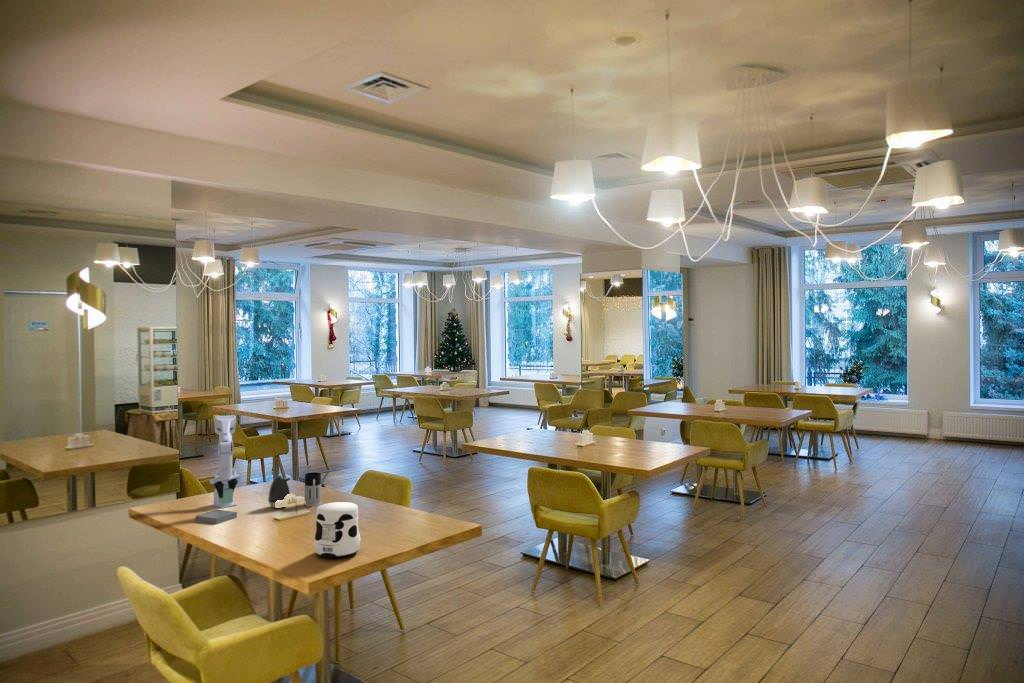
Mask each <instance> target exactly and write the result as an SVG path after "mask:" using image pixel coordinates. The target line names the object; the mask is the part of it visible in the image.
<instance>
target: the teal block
mask: <svg viewBox="0 0 1024 683" xmlns="http://www.w3.org/2000/svg"><path fill="white" fill-rule="evenodd" d="M218 502H219V503H223V504H225V503H230V502H233V503H234V492H233V489H230V488H223V498H219V496H218Z"/></svg>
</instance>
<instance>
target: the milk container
mask: <svg viewBox="0 0 1024 683" xmlns="http://www.w3.org/2000/svg"><path fill="white" fill-rule="evenodd" d="M315 515H316V516H315V517H316V520H315V526H316V528H315V535H314V537H313V539H314V540H313V548H314V552H315V554H316V555H318V556H320V557H323V558H330V559H331V558H332V559H337V558H344V557H349V556H351V555H354V554H355V553H357V552H358V551H359V549H360V547H361V542H362V541H361V533H360V531H359V506H358V504H356V503H354V502H349V501H347V502H346V501H340V502H339V501H338V502H328V503H324V504H323V503H322V505H319V506H317V508H316V513H315Z"/></svg>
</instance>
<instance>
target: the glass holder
mask: <svg viewBox="0 0 1024 683" xmlns="http://www.w3.org/2000/svg"><path fill="white" fill-rule="evenodd" d="M321 480H322V473H321V472H317V471H316V472H315V471H314V472H307V473H305V474H304V502H305V501H306V505H307V506H306V507H308V508H309V506H311V507H312V506H313V507H318V506H320V505H321V504H322V505H323V502H322V481H321ZM311 507H310V508H311Z"/></svg>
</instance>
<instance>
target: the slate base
mask: <svg viewBox="0 0 1024 683" xmlns="http://www.w3.org/2000/svg"><path fill="white" fill-rule="evenodd" d="M237 518H238V512H237V511H232V510H224V509H213V510H211V511H207V512H204V513H201V514H197V515H195V522H199V523H205V524H212V525H218V524H221V523H224V522H227V521H230V520H231V521H232V520H233V519H237Z"/></svg>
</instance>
